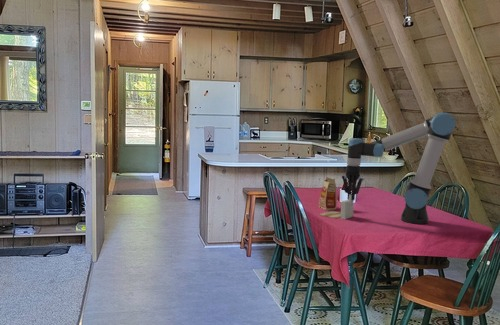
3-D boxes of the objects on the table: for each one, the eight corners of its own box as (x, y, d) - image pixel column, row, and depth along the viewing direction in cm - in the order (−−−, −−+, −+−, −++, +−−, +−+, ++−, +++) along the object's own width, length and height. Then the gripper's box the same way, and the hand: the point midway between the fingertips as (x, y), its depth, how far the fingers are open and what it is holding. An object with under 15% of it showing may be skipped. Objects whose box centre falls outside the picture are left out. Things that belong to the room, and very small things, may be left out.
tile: (353, 216, 284) (353, 199, 283) (344, 219, 276) (345, 202, 275) (348, 215, 286) (348, 199, 285) (340, 218, 278) (340, 201, 277)
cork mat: (348, 214, 288) (348, 214, 288) (336, 218, 277) (336, 218, 277) (330, 211, 296) (330, 210, 296) (318, 214, 285) (318, 214, 285)
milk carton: (325, 209, 299) (327, 178, 296) (317, 206, 307) (319, 175, 305) (337, 209, 302) (340, 177, 300) (330, 206, 311) (332, 175, 308)
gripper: (367, 166, 275) (363, 206, 278) (346, 163, 283) (343, 202, 286) (361, 167, 269) (357, 208, 272) (340, 164, 277) (337, 204, 280)
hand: (350, 205), depth 279 cm, fingers closed
